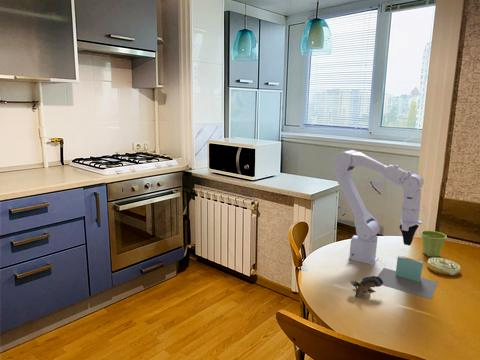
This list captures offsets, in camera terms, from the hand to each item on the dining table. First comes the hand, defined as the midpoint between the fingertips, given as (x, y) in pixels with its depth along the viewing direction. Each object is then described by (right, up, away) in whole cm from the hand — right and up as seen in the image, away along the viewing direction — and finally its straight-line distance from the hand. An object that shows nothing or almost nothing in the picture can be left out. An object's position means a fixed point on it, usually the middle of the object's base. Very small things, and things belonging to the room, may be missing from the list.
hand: (407, 244), depth 131 cm
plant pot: (+18, -7, +17) cm, 26 cm away
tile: (-2, -11, -4) cm, 12 cm away
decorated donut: (+14, -11, +3) cm, 18 cm away
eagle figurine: (-20, -14, -15) cm, 29 cm away
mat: (-4, -12, -7) cm, 15 cm away
